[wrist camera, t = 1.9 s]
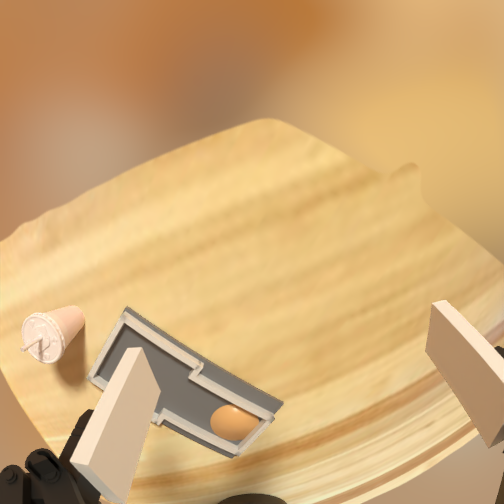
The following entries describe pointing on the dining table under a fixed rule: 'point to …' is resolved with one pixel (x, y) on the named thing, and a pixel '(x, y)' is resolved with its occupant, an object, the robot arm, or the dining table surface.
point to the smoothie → (51, 332)
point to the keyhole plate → (190, 388)
